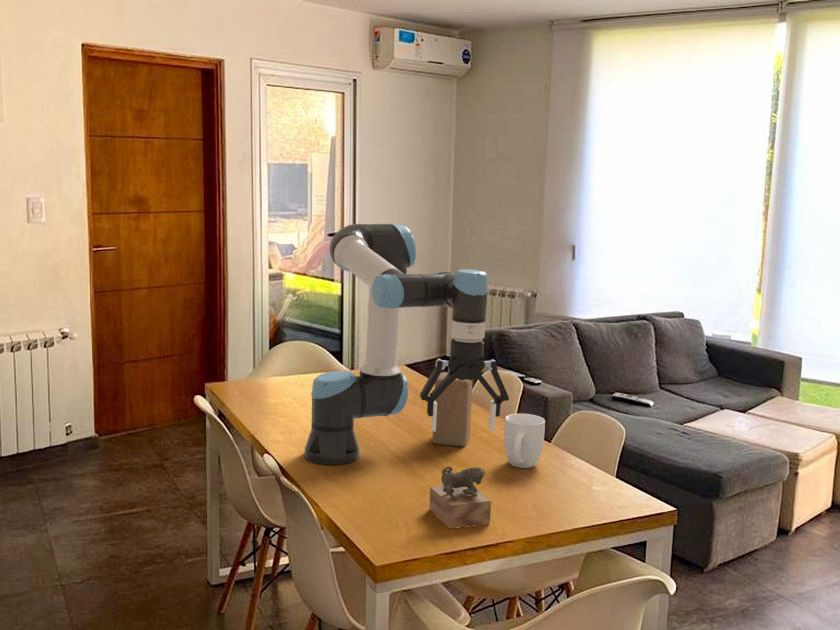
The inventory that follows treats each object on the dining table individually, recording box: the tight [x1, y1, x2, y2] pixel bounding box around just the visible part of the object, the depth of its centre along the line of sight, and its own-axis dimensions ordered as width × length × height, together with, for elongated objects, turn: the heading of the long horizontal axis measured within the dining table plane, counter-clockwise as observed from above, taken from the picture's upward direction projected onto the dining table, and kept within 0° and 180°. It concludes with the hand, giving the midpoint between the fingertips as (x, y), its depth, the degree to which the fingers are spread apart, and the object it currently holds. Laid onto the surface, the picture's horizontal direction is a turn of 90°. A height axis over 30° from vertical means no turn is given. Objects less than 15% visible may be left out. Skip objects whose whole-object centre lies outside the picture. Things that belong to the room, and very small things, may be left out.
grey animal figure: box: [441, 466, 486, 501], centre depth 198 cm, size 12×6×7 cm, turn 119°
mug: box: [503, 413, 546, 469], centre depth 235 cm, size 15×11×13 cm
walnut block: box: [428, 485, 492, 529], centre depth 199 cm, size 10×12×6 cm
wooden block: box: [431, 371, 474, 447], centre depth 255 cm, size 10×10×20 cm
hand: (462, 429), depth 196 cm, fingers open, 13 cm apart
